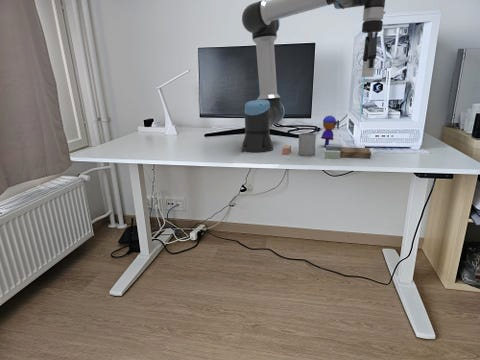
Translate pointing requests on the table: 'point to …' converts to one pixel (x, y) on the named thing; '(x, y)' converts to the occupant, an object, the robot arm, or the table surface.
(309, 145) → the cup
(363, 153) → the slab
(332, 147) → the brick blue
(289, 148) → the brick terracotta
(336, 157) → the brick sage
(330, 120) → the toy
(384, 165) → the table surface
